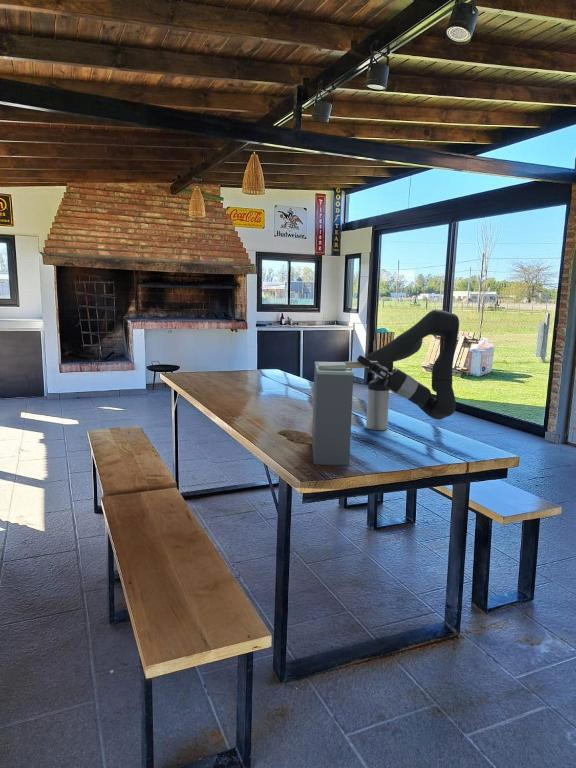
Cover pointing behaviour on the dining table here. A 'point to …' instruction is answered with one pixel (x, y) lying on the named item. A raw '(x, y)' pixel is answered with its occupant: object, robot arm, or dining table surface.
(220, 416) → the dining table surface
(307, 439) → the wooden fragment
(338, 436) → the blue-grey rectangular block
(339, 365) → the hammer
